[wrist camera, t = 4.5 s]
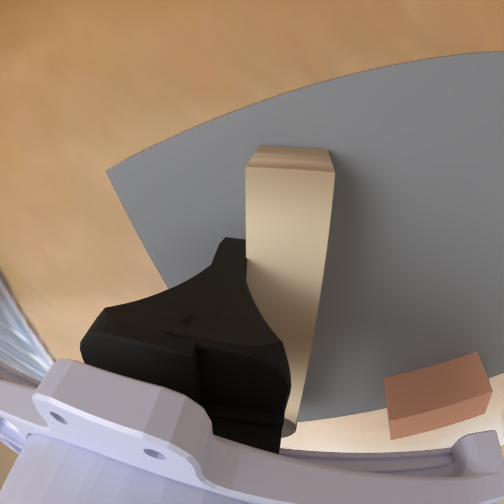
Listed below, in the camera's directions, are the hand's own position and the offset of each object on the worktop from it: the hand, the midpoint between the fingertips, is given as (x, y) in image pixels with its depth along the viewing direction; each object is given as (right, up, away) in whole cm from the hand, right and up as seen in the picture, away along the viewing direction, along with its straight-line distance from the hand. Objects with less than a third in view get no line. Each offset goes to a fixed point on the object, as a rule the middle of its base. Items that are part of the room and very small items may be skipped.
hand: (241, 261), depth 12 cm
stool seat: (+6, -1, +3) cm, 7 cm away
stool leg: (+2, -2, +2) cm, 4 cm away
